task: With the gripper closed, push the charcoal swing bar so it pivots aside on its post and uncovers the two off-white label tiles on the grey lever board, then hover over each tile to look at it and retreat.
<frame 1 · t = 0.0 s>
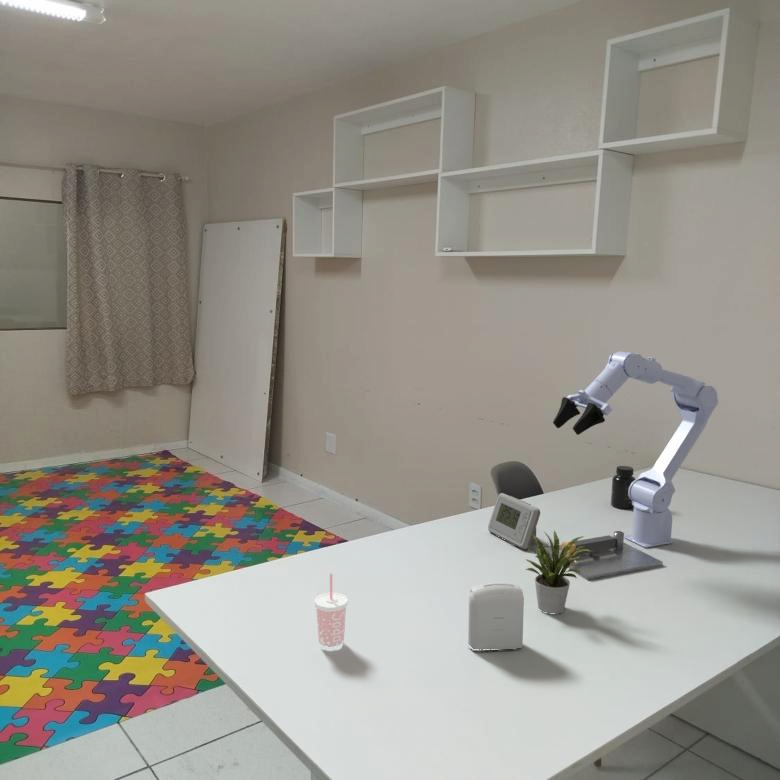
hand: (565, 428, 170), 32 cm above the table, tool tilted 50°, fingers open, 7 cm apart
supplement bottle: (622, 506, 214), on the table
grey lever board: (600, 558, 174), on the table
beverage cup: (331, 646, 132), on the table
house plant: (557, 610, 148), on the table
digital clock: (512, 540, 186), on the table
photo printer: (494, 647, 133), on the table
swing bar: (589, 545, 175), point 3 cm above the table, hinge at 0.0°
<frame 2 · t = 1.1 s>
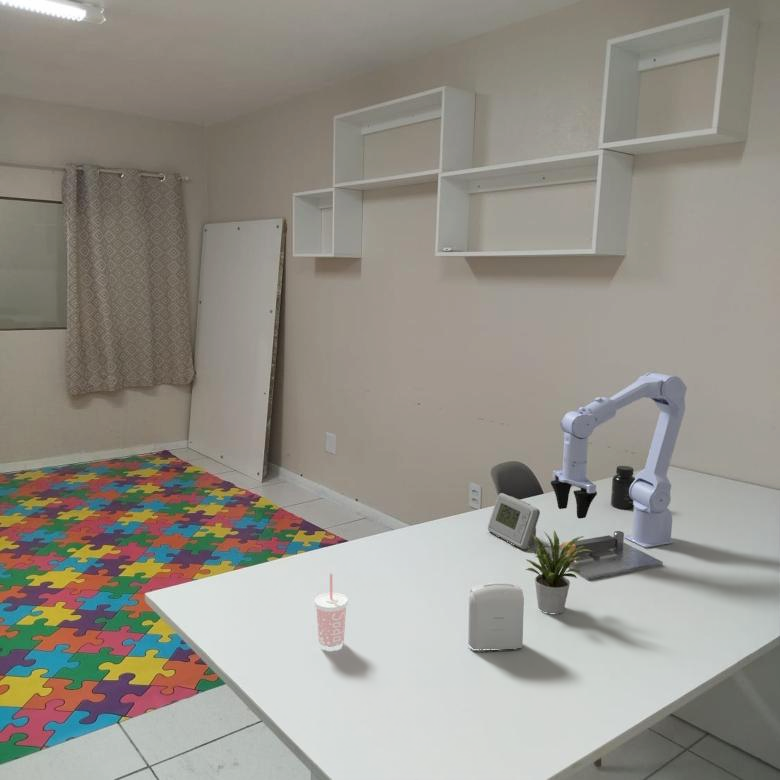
hand: (571, 512, 179), 10 cm above the table, tool pointing down, fingers open, 7 cm apart
nothing on the table moved.
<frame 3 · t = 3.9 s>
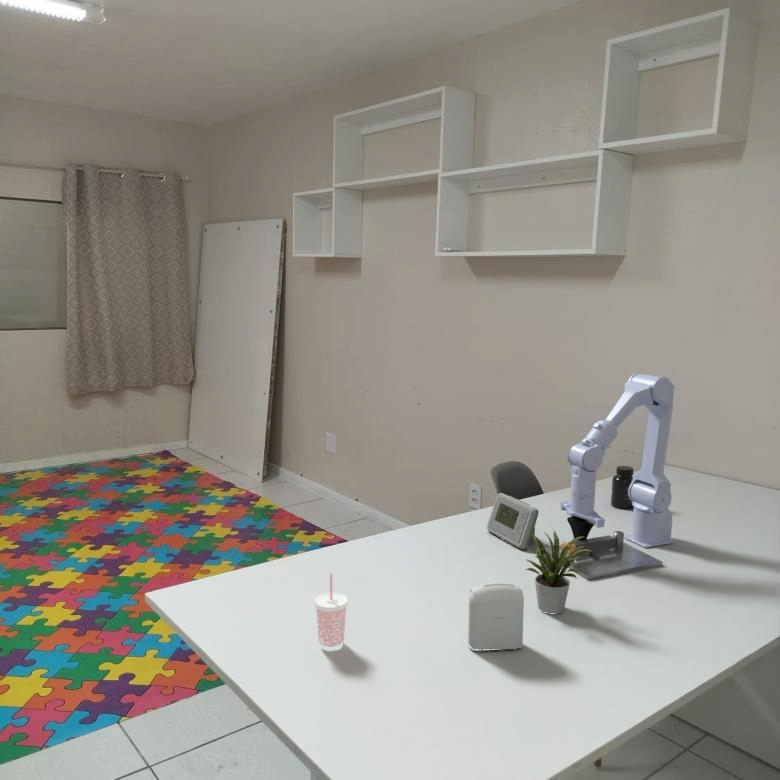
hand: (579, 545, 176), 2 cm above the table, tool pointing down, fingers closed
swing bar: (589, 545, 175), point 3 cm above the table, hinge at 0.0°, touching gripper
everything else where it was.
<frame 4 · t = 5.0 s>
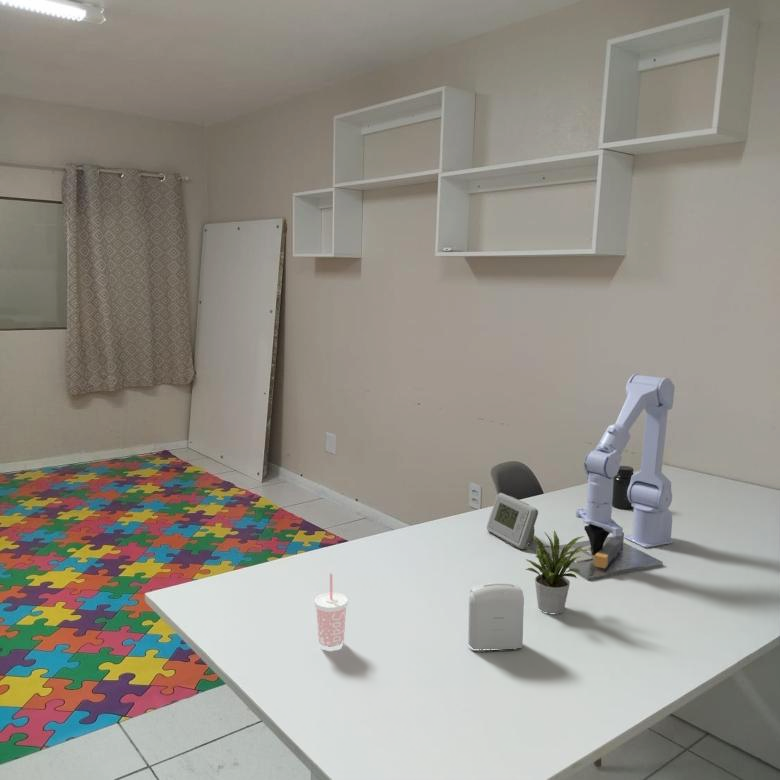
hand: (596, 554, 171), 2 cm above the table, tool pointing down, fingers closed, pressing on swing bar
swing bar: (608, 552, 170), point 3 cm above the table, hinge at 34.5°, touching gripper
everything else where it was.
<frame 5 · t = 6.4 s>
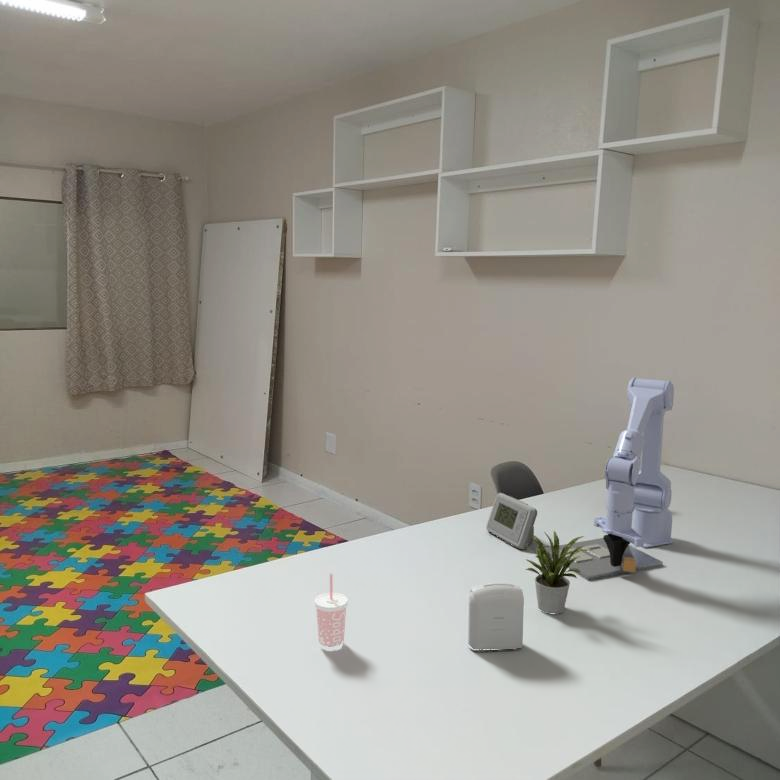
hand: (616, 565, 165), 2 cm above the table, tool pointing down, fingers closed, pressing on swing bar
swing bar: (624, 554, 169), point 3 cm above the table, hinge at 57.9°, touching gripper
everything else where it was.
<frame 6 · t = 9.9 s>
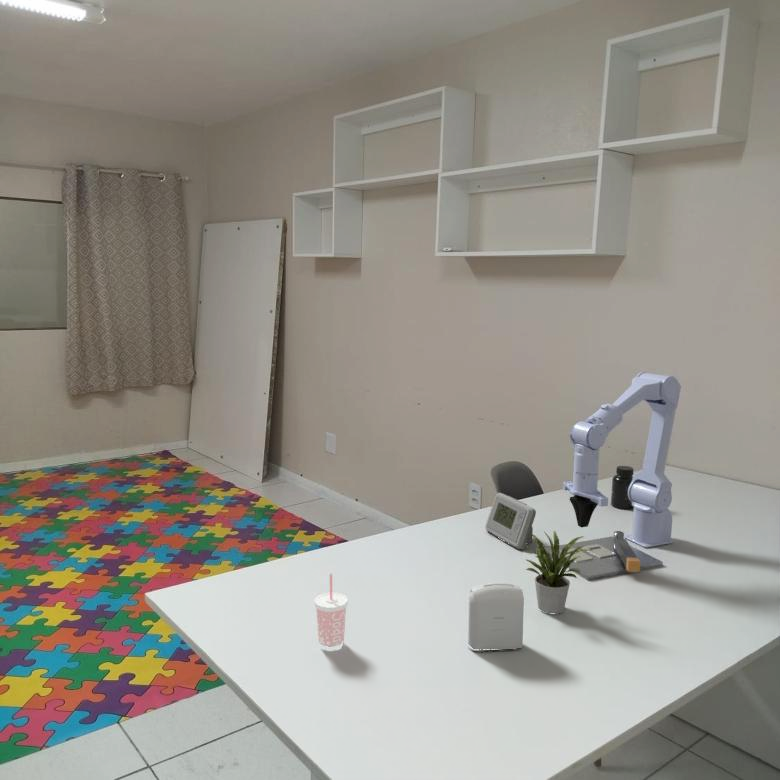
hand: (583, 526, 173), 8 cm above the table, tool pointing down, fingers closed
swing bar: (626, 554, 169), point 3 cm above the table, hinge at 61.3°
everything else where it was.
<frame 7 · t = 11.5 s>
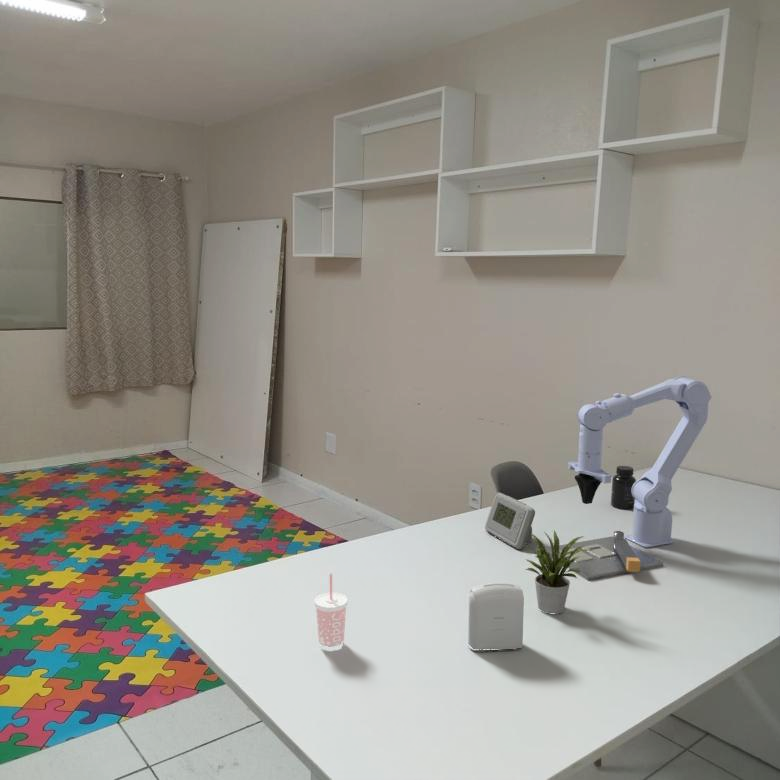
hand: (587, 502, 184), 10 cm above the table, tool pointing down, fingers closed
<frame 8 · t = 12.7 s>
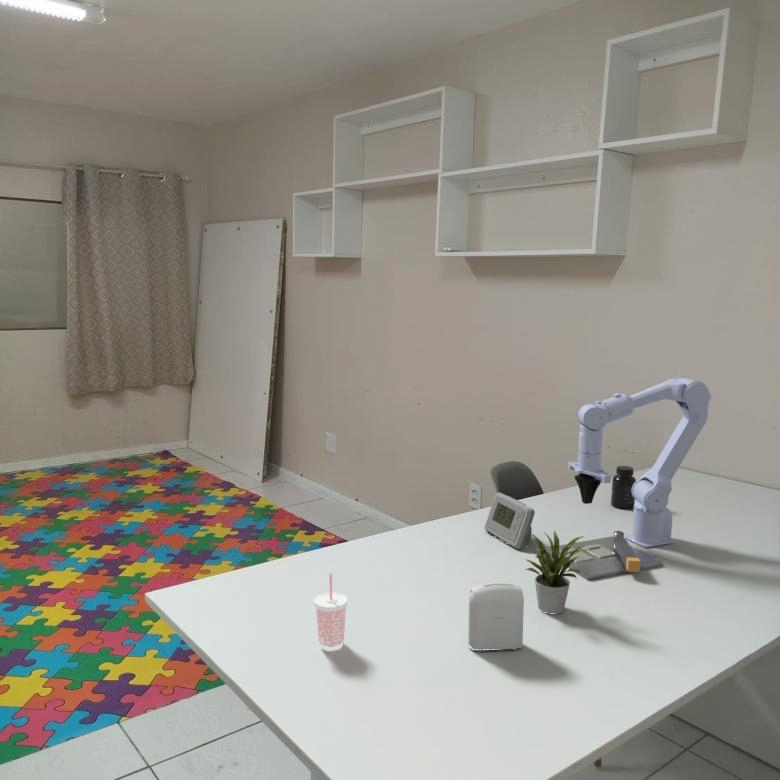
hand: (587, 502, 184), 10 cm above the table, tool pointing down, fingers closed
at the end: swing bar at +61° (first picture: +0°) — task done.
